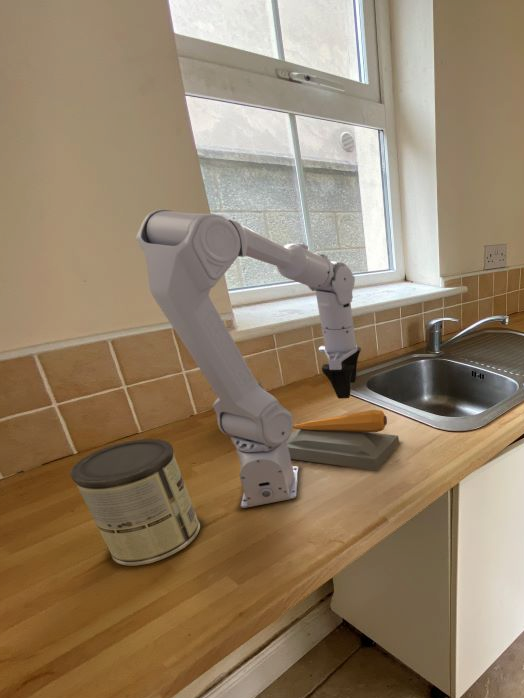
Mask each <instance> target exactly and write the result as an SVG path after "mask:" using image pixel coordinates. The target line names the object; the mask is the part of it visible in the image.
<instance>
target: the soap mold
mask: <svg viewBox="0 0 524 698" xmlns="http://www.w3.org/2000/svg"><path fill="white" fill-rule="evenodd" d="M287 444H288V449H289V453H290V458H291V459H293V460H298V461H305V462H311V463H320V464H326V465H333V466H340V467H347V468H354V469H361V470H362V469H363V470H369V471H378V470H379V469H380V467H381V466H382V465H383V463H385V462H386V460H387V459H388V457H389V456H390V455H391V454H392V453H393V451H394V450H395V449H396V448H397V447H398V446H399V444H400V438H399V435H397V434H390V433H389V434H388V433H381V432H352V431H321V430H303V429H295V431H293V432H291V434H290V436H289V439H288V440H287Z"/></svg>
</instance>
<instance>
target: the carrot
mask: <svg viewBox="0 0 524 698" xmlns="http://www.w3.org/2000/svg"><path fill="white" fill-rule="evenodd" d="M387 424H388V418H387V415H385V413H384V411H383V410H379V409H371V410H366V411H365V410H364V411H359V412H353V413H348V414H342V415H337V416H331V417H326V418H320V419H315V420H308V421H306V422H305V421H304V422H300V423H296V424H293V430H298V429H303V430H321V431H352V432H373V433H380V432H382V431H384V430H385V427H386V426H387Z"/></svg>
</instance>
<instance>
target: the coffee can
mask: <svg viewBox="0 0 524 698" xmlns="http://www.w3.org/2000/svg"><path fill="white" fill-rule="evenodd" d="M69 476H70V477H71V479H72V481H73V482H74V483H75V484H76V487H77V489H78V491H79V493H80V495H81V497H82V498H83V501H84V503H85V504H86V507H87V508H88V511H89V512H90V515H91V516H92V518H93V520H94V522H95V525H96V526H97V528H98V531H99V532H100V534H101V536H102V539H103V540H104V542H105V544H106V547H107V548H108V550H109V552H110V554H111V559H112V560H113V561H114V562H115V563H117V564H118V565H122V566H129V567H137V566H142V565H149V564H152V563H155V562H159V561H161V560H164V559H167V558H168V557H171V556H173V555H174V554H176V553H178V552H180V551H182V550H184V549H185V548H186V547H188V546H189V545H190V544H191V543H192V542H193V541H194V540H195V539H196V538H197V536H198V534H199V532H200V529H201V523H200V520H199V519H198V516H197V514H196V512H195V509H194V506H193V503H192V500H191V497H190V495H189V492H188V489H187V487H186V484H185V480H184V478H183V476H182V473H181V471H180V468H179V464H178V463H177V459H176V456H175V453H174V448H173V445H172V444H171V442H169V441H167V440H163V439H159V438H157V439H156V438H145V439H144V438H143V439H134V440H129V441H124V442H120V443H116V444H113V445H109V446H107V447H104V448H102V449H99V450H96V451H94V452H92V453H90V454H89V455H87V456H85V457H83V458H82V459H80V460H78V461H77V462H76V463H75V465H73V467H72V468H71V470H70V475H69Z"/></svg>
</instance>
